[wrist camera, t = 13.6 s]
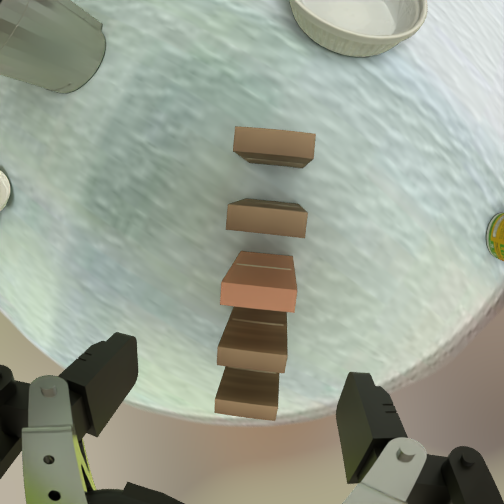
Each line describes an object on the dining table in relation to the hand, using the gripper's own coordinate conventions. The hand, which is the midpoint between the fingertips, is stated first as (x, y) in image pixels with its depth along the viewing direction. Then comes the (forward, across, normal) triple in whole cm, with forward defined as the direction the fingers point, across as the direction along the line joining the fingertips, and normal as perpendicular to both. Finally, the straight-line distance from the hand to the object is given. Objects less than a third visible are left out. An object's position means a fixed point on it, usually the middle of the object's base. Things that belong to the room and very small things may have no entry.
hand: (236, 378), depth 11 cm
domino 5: (+20, 0, +10) cm, 23 cm away
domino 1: (+20, 0, -10) cm, 22 cm away
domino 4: (+20, 0, +6) cm, 21 cm away
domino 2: (+20, 0, -4) cm, 20 cm away
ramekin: (+20, -5, -27) cm, 34 cm away
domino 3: (+20, 0, +1) cm, 20 cm away
